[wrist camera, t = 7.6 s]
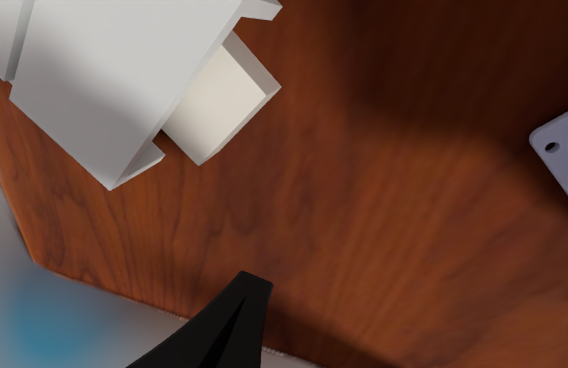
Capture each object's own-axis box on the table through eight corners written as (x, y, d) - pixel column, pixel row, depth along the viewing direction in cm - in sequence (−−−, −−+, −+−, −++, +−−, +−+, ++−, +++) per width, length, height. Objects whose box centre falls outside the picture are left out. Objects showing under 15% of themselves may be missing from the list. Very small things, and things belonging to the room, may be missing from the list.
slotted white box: (282, 6, 13) (245, -5, 10) (160, 161, 20) (109, 190, 16) (148, -154, 12) (44, -241, 8) (65, 68, 19) (-15, 77, 15)
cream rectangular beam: (281, 87, 15) (266, 95, 13) (218, 151, 18) (198, 166, 16) (143, -74, 14) (100, -93, 11) (99, 26, 17) (59, 25, 14)
